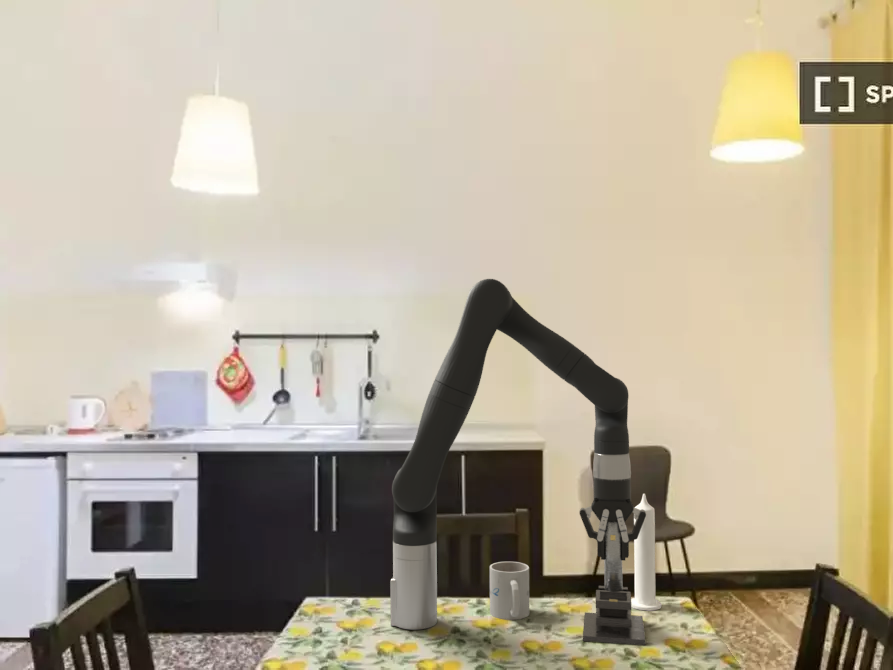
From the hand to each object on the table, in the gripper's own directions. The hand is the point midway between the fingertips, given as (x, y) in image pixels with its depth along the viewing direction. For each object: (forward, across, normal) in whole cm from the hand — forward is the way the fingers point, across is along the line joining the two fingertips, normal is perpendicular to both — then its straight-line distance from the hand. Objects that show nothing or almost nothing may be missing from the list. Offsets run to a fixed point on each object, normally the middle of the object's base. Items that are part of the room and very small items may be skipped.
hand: (613, 558), depth 162 cm
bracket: (+15, 0, 0) cm, 15 cm away
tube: (+6, 0, 0) cm, 6 cm away
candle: (+15, -7, -17) cm, 24 cm away
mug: (+15, +22, -5) cm, 27 cm away
